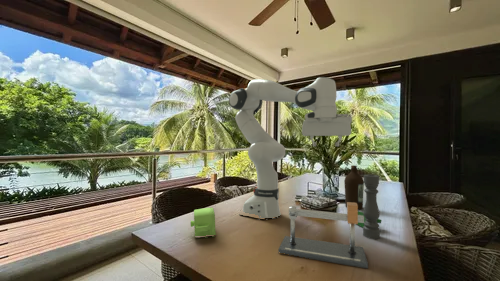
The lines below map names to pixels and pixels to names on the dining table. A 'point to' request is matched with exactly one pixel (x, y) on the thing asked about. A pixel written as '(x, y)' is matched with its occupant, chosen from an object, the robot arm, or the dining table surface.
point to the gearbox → (204, 222)
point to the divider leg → (352, 222)
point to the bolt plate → (324, 251)
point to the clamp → (365, 219)
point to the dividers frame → (315, 214)
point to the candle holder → (371, 207)
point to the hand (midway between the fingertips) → (325, 146)
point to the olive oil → (354, 188)
